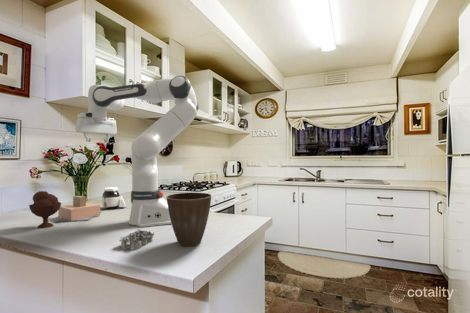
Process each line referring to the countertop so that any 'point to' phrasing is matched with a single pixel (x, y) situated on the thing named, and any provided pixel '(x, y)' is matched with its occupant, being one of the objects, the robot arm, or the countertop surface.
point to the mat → (73, 220)
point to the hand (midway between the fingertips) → (97, 142)
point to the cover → (79, 209)
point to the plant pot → (189, 216)
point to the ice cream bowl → (44, 207)
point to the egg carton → (136, 239)
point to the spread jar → (111, 198)
